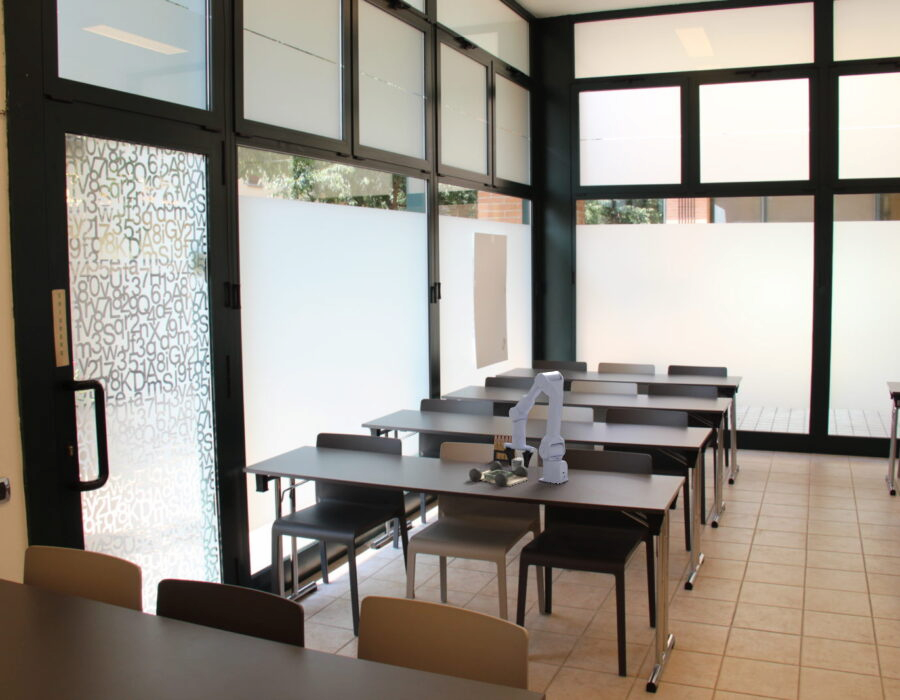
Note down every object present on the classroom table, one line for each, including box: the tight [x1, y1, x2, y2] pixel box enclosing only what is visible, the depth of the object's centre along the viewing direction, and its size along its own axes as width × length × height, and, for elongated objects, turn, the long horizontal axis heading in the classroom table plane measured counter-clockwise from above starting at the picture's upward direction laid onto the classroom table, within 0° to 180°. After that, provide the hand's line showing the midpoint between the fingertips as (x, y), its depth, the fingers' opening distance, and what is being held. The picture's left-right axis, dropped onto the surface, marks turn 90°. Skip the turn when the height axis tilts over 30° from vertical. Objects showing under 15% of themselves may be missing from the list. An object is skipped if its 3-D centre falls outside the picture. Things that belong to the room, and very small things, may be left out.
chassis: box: [468, 461, 529, 487], centre depth 347 cm, size 20×16×5 cm
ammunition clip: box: [492, 433, 517, 464], centre depth 377 cm, size 11×2×12 cm, turn 61°
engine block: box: [511, 456, 524, 472], centre depth 361 cm, size 4×5×5 cm
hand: (518, 466), depth 361 cm, fingers open, 7 cm apart
